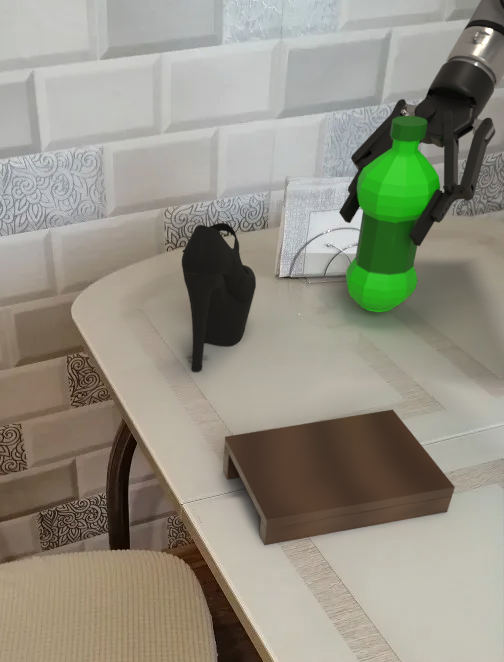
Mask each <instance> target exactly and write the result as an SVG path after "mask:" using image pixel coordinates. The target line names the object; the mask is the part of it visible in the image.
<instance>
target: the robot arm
mask: <svg viewBox="0 0 504 662" xmlns="http://www.w3.org/2000/svg"><path fill="white" fill-rule="evenodd" d="M453 45H454V46H453V47H452V49H451V50H450V52H449V54H448V55H447V57H446V59H445V63H444V64H442V65H441V67H440V69H439V70H438V72H437V74H436V75H435V76H434V79H433V80H432V82H431V84H430V86H429V88H428V90H427V93H426V95H425V97H424V99H422V101H420V102H419V103H418V104H417V105H416V104H410V103H407V101H406V99H404V98H401V99H399V100H397V102H396V103H395V105H394V107H393V109H392V111H391V113H390V114H389V115H388V117H387V118H385V120H384V121H383V122H382V123H381V124H379V126H378V127H377V128H376V129H375V130H374V131H373V132H372V133H371V134H370V135H369V137H368V138H367V139H366V140H365V141H364V142H363V143H362V144H361V145H360V146H359V147H358V148H357V149H356V150H355V152H354V153H352V155H351V157H350V159H351V162H352V163H353V164H354V166H355V168H356V170H357V172H356V174H355V175H354V177H353V178H352V180H351V182H350V183H349V185H348V187H347V192H348V193H349V194H348V195H347V198H346V200H345V201H344V203H343V204H342V206H341V208H340V209H339V211H338V213H339V215H340V216H341V218H342V219H343V221H344V222H345V223H347V224H351V222H352V221H353V219H354V217H355V216H356V214H357V212H358V211H359V209H360V208H361V207H360V205H359V202H358V198H357V183H358V177H359V176H360V174H361V172H362V170H363V168H365V167H366V166H367V165H369V164H370V163H371V162H372V161H374V160H375V159H376V158H378V157H379V156H381V155H382V154H384V153H385V152H387V151H388V150H390V149H391V148H392V144H393V138H391V136H390V130H391V125H392V119H394V118H396V117H401V116H415V117H420V118H423V119H426V120H427V122H428V124H427V129H426V134H425V138H423V139H422V140H420V141H419V145H420V144H426V145H433V146H434V145H435V147H438V148H442V149H443V185H442V189H443V190H441V189H440V190H436V191H435V193H434V194H433V196H432V198H431V199H430V201H429V203H428V204H427V206H426V208H425V209H424V211H423V213H422V214H421V216H420V218H419V219H418V221H417V223H416V224H415V226H414V228H413V229H412V231H411V233H410V234H409V236H410V237H411V239H412V241H413V243H414V245H417V247H420V246H421V245H422V243H423V242H424V240H425V238H426V236H427V235H428V234H429V232H430V230H431V229H432V227H433V225H434V224H435V223H439V224H440V223H441V222H442V221H443V220H444V218H445V216H446V215H447V214H448V212H449V210H450V209H451V207H452V205H453V204H454V202H455V201H458V200H464V201H467V202H469V201H471V200H472V199H473V198H474V196H475V192H476V189H477V185H478V181H479V178H480V173H481V169H482V166H483V163H484V159H485V155H486V150H487V147H488V146H489V144H490V142H491V141H492V139H493V137H494V136H495V134H496V128H495V126H494V121H493V119H492V118H491V117H485V118H484V119H479V118H478V117H479V116H480V115H481V114H482V112H483V110H484V109H485V108H486V106H487V104H488V102H489V101H490V99H491V98H492V96H493V94H494V92H495V89H496V88H497V87H498V86H499V85H500V83H501V81H502V80H503V78H504V0H480V1H479V3H478V5H477V6H476V8H475V11H474V12H473V14H472V15H471V17H470V19H469V20H468V22H467V24H466V25H465V27H464V29H462V31H461V33H460V35H459V36H458V38H457V40H456V42H455V44H453ZM471 132H472V135H473V137H472V140H471V143H470V147H469V151H468V154H467V158H466V162H465V165H464V168H463V173H462V177H461V180H460V184H459V154H460V139H461V138H463V137H464V136H466V135H467V134H469V133H471Z"/></svg>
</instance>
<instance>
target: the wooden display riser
mask: <svg viewBox="0 0 504 662" xmlns="http://www.w3.org/2000/svg"><path fill="white" fill-rule="evenodd" d="M222 466H223V467H222V468H223V469H222V472H223V473H224V476H225V478H226V480H232V479H237V478H240V479H241V481H242V483H243V486H244V487H245V489H246V491H247V493H248V495H249V497H250V500H251V501H252V503H253V505H254V507H255V510H256V512H257V513H258V515H259V517H260V527H259V538H260V539H261V541H262V543H263V545H264V546H268V545H269V546H270V545H275V544H280V543H286V542H290V541H298V540H303V539H307V538H313V537H318V536H324V535H329V534H334V533H340V532H345V531H350V530H357V529H363V528H367V527H373V526H378V525H384V524H389V523H394V522H399V521H400V522H401V521H406V520H412V519H417V518H423V517H427V516H434V515H438V514H439V515H440V514H444V513H448V512H449V507H450V504H451V501H452V499H453V494H454V493H455V492H454V491H455V488H456V486H455V485H454V484H453V482H451V480H450V479H449V478H448V476H447V475H446V473H444V472H443V470H442V469H441V468H440V466H439V465H438V464H437V463H436V461H435V460H434V459H433V458H432V457H431V455H430V453H428V451H427V450H426V449H425V448H424V446H423V445H422V444H421V443H420V442H419V440H418V439H417V438H416V436H415V435H414V434H413V433H412V432H411V430H410V429H409V428H408V426H407V425H406V424H405V423H404V421H403V420H402V419H401V418H400V416H399V415H398V414H397V413H396V411H395V410H394V409H388V410H387V409H386V410H381V411H375V412H368V413H363V414H357V415H349V416H344V417H337V418H331V419H326V420H320V421H313V422H307V423H301V424H295V425H288V426H282V427H277V428H276V427H275V428H270V429H269V428H268V429H263V430H258V431H252V432H251V431H250V432H245V433H239V434H233V435H227V436H224V448H223V464H222Z"/></svg>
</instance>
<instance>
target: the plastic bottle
mask: <svg viewBox="0 0 504 662" xmlns="http://www.w3.org/2000/svg"><path fill="white" fill-rule="evenodd" d="M427 124H428V122H427V120H426V119H423V118H420V117H415V116H401V117H396V118H394V119H392V125H391V130H390V136H391V138H392V139H393V144H392V148H391V149H390V150H388V151H387V152H385V153H384V154H382V155H381V156H379V157H378V158H376V159H375V160H374V161H372V162H371V163H370V164H369V165H367V166H366V167H365V168H363V170H362V172H361V174H360V176H359V177H358V183H357V198H358V202H359V205H360V207H359V208H360V209H361V210H362V215H361V221H360V228H359V235H358V240H357V246H356V252H355V257H354V258H353V260H352V261H351V262H350V263H349V266H348V267H347V269H346V273H345V280H346V281H345V282H346V286H347V290H348V294H349V295H350V297H351V299H352V300H354V301H355V302H356V304H358V306H359V307H360V308H362V309H364V310H366V311H369V312H375V313H382V312H383V313H384V312H390V311H391V310H393V309H394V308H396V307H398V306H400V305H401V304H402V303H403V302H404V301H406V300H408V298H409V297H411V296H412V294H413V293H414V292H415V291H416V288H417V284H418V275H417V272H416V269H415V265H414V263H415V259H416V255H417V249H418V246H417V245H414V243H413V241H412V239H411V237H410V236H409V234H410V233H411V231H412V229H413V228H414V226H415V224H416V223H417V221H418V219H419V218H420V216H421V214H422V213H423V211H424V209H425V208H426V206H427V204H428V203H429V201H430V199H431V198H432V196H433V194H434V193H435V191H436V190H441V182H440V176H439V174H438V173H437V171H436V168H435V167H434V166H433V164H432V163H431V162H430V161H429V160H428V158H427V157H426V156H425V155H424V154H423V153H422V152H421V151H420V150H419V146H420V144H419V141H420V140H422V139H423V138H425V134H426V129H427Z"/></svg>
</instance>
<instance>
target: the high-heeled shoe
mask: <svg viewBox="0 0 504 662" xmlns="http://www.w3.org/2000/svg"><path fill="white" fill-rule="evenodd" d="M221 232H227V233H229V234H231V235H232V237H234V241H233V247H231V246H230V244H228V242H227V241H226V239H225V238H224V237H223V236H222V234H221ZM181 251H182V256H181V268H182V275H183V280H184V284H185V286H186V290H187V293H188V301H189V305H190V314H191V325H192V326H191V327H192V352H191V353H192V354H191V356H192V357H191V371H192V372H195V373H197V372H201V371H202V370H203V359H204V358H203V357H204V351H205V350H204V349H205V343H206V344H210V345H214V346H220V347H232V346H235V345H237V344H238V343H239V342H241V340H242V339H243V337H244V335H245V331H246V326H247V321H248V318H249V315H250V310H251V307H252V303H253V300H254V295H255V291H256V288H257V278H256V275H255V272H254V270H253V268H251V267H250V266H248V265H245V264H243V261H242V259H241V253H240V242H239V239H238V237H237V234H236V231H235V230H234V228H233V227H232V226H231V225H230V224H228V223H226V222H218V223H214V224H212V225H210V226H208V225H204V224H199V225H196V227H195V228H194V230H193V231H192V234H191V236H190V238H189V239H188V241H187V243H186V245H185V247H184V249H182V250H181Z"/></svg>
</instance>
